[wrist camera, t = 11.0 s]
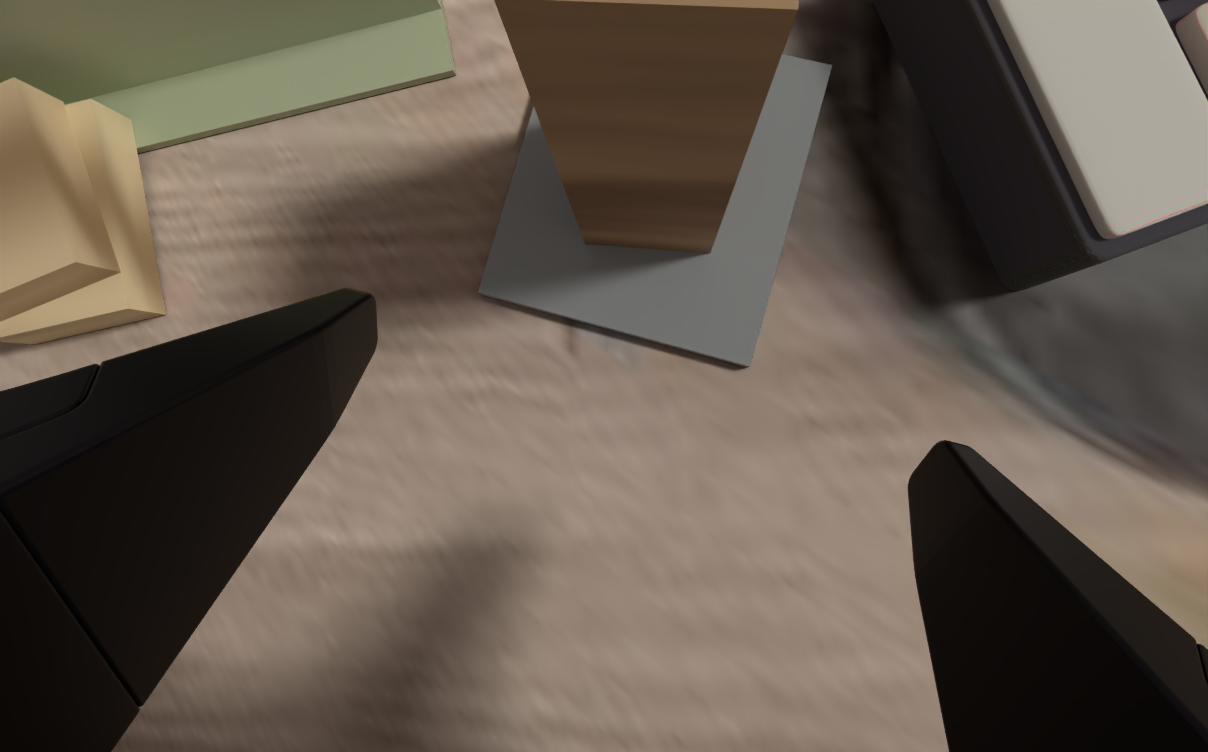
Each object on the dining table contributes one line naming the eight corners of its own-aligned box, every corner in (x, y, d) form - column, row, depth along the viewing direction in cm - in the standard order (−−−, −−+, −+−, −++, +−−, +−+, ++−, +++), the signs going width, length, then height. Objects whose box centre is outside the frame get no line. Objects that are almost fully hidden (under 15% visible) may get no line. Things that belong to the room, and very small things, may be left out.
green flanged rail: (456, 74, 20) (391, -39, 15) (-22, 192, 21) (-230, 122, 16) (431, -58, 20) (360, -212, 15) (-36, 64, 22) (-242, -43, 17)
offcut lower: (166, 314, 20) (127, 308, 19) (34, 344, 20) (-15, 341, 19) (131, 120, 20) (91, 98, 19) (1, 152, 21) (-49, 133, 19)
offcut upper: (121, 272, 19) (75, 261, 17) (1, 321, 19) (-54, 315, 17) (63, 101, 19) (13, 77, 17) (-54, 152, 19) (-113, 132, 18)
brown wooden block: (710, 253, 18) (798, 9, 7) (585, 243, 19) (493, -2, 8) (722, 116, 19) (823, -313, 8) (598, 109, 19) (529, -309, 8)
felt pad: (747, 367, 18) (749, 366, 18) (481, 294, 19) (477, 291, 19) (828, 72, 19) (832, 65, 19) (565, 14, 20) (563, 6, 19)
